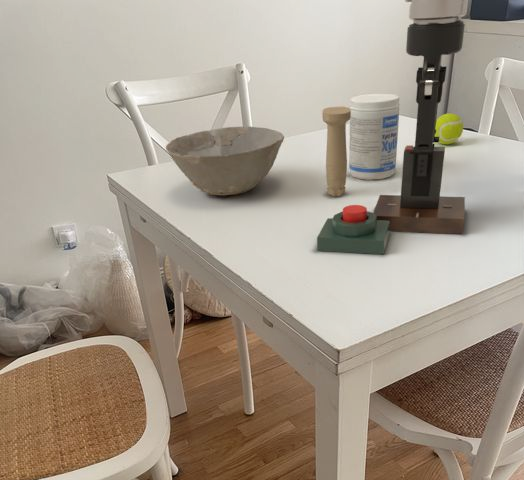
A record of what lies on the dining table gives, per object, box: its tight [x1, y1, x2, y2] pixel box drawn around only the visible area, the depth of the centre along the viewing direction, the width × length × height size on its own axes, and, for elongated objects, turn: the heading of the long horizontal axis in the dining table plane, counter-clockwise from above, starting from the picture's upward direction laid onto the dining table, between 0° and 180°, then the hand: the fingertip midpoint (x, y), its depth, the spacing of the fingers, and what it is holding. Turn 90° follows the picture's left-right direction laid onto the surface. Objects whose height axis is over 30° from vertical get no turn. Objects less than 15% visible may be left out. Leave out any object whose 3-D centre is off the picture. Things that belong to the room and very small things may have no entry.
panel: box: [372, 194, 466, 235], centre depth 89 cm, size 14×10×3 cm
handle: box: [321, 106, 351, 197], centre depth 99 cm, size 5×6×15 cm
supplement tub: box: [348, 93, 401, 181], centre depth 108 cm, size 10×10×15 cm
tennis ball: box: [435, 112, 464, 145], centre depth 125 cm, size 7×7×7 cm
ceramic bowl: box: [165, 126, 285, 196], centre depth 107 cm, size 22×23×10 cm
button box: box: [316, 210, 391, 255], centre depth 83 cm, size 10×8×4 cm
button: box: [342, 204, 368, 223], centre depth 82 cm, size 4×4×2 cm
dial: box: [400, 145, 446, 209], centre depth 85 cm, size 6×2×9 cm, turn 73°
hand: (420, 189), depth 86 cm, fingers open, 4 cm apart
